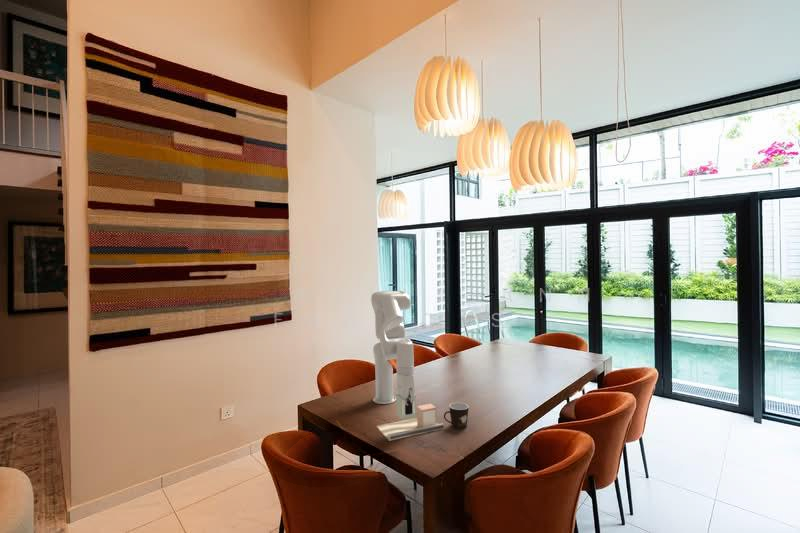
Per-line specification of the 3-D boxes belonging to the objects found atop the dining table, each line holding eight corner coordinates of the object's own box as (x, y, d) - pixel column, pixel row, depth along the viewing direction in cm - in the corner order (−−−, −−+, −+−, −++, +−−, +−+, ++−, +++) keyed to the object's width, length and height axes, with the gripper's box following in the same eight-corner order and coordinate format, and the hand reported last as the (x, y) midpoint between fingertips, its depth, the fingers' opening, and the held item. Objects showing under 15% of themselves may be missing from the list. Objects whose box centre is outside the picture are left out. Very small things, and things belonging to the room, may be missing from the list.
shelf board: (376, 428, 170) (376, 421, 170) (427, 417, 180) (427, 411, 180) (389, 443, 155) (389, 435, 155) (444, 431, 166) (444, 424, 166)
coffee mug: (466, 424, 173) (466, 402, 173) (471, 432, 164) (470, 409, 164) (441, 424, 172) (441, 403, 172) (444, 433, 164) (444, 410, 164)
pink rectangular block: (422, 430, 164) (422, 410, 164) (417, 426, 169) (416, 406, 169) (436, 427, 167) (436, 407, 167) (431, 423, 172) (430, 403, 172)
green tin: (401, 419, 160) (400, 397, 160) (396, 415, 165) (396, 394, 165) (416, 416, 163) (415, 395, 163) (411, 412, 167) (410, 392, 168)
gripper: (390, 366, 170) (390, 406, 170) (405, 375, 155) (406, 420, 154) (405, 364, 173) (405, 404, 173) (421, 373, 158) (422, 417, 157)
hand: (406, 411), depth 164 cm, fingers closed on green tin, 5 cm apart
